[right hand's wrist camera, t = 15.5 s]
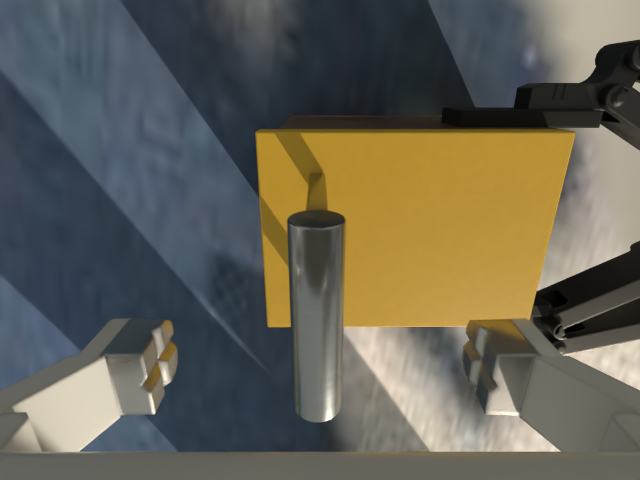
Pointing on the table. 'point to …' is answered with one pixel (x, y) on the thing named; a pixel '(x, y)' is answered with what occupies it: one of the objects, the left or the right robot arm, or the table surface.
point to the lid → (399, 234)
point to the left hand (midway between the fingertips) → (438, 216)
